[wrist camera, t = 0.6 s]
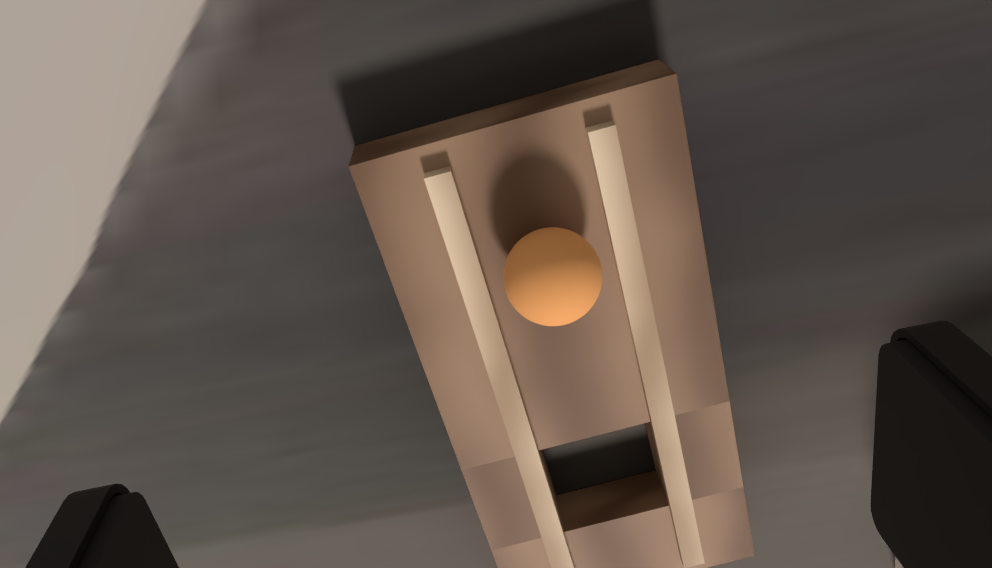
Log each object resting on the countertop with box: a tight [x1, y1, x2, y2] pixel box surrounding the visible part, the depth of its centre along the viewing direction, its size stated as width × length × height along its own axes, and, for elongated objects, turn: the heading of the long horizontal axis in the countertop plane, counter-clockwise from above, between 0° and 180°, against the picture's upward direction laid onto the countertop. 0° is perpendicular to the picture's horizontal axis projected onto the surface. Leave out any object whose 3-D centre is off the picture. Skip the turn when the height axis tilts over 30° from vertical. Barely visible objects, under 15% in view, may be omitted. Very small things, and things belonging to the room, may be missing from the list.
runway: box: [349, 59, 754, 568], centre depth 34 cm, size 12×24×3 cm, turn 15°
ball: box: [503, 227, 602, 326], centre depth 29 cm, size 4×4×4 cm
